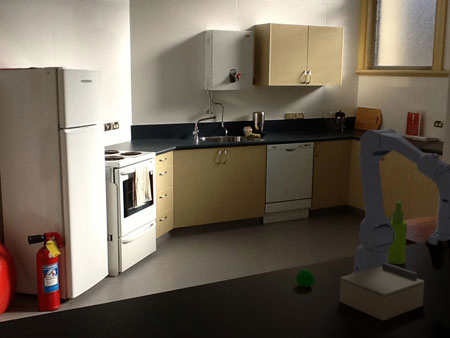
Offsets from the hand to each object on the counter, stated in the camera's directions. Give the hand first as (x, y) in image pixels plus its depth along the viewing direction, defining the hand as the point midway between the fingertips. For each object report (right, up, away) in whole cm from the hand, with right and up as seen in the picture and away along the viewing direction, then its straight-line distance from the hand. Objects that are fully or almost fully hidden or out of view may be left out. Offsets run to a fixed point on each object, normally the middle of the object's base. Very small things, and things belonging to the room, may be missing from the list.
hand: (445, 266), depth 140 cm
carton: (-17, -10, 0) cm, 20 cm away
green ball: (-35, -8, +12) cm, 38 cm away
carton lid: (-17, -4, -1) cm, 17 cm away
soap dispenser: (-2, -5, +35) cm, 36 cm away
